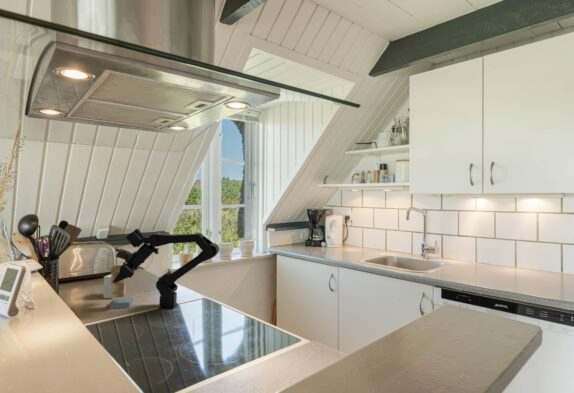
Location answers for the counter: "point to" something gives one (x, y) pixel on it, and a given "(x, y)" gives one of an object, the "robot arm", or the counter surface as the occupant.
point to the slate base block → (121, 302)
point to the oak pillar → (117, 283)
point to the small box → (107, 287)
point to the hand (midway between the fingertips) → (114, 280)
